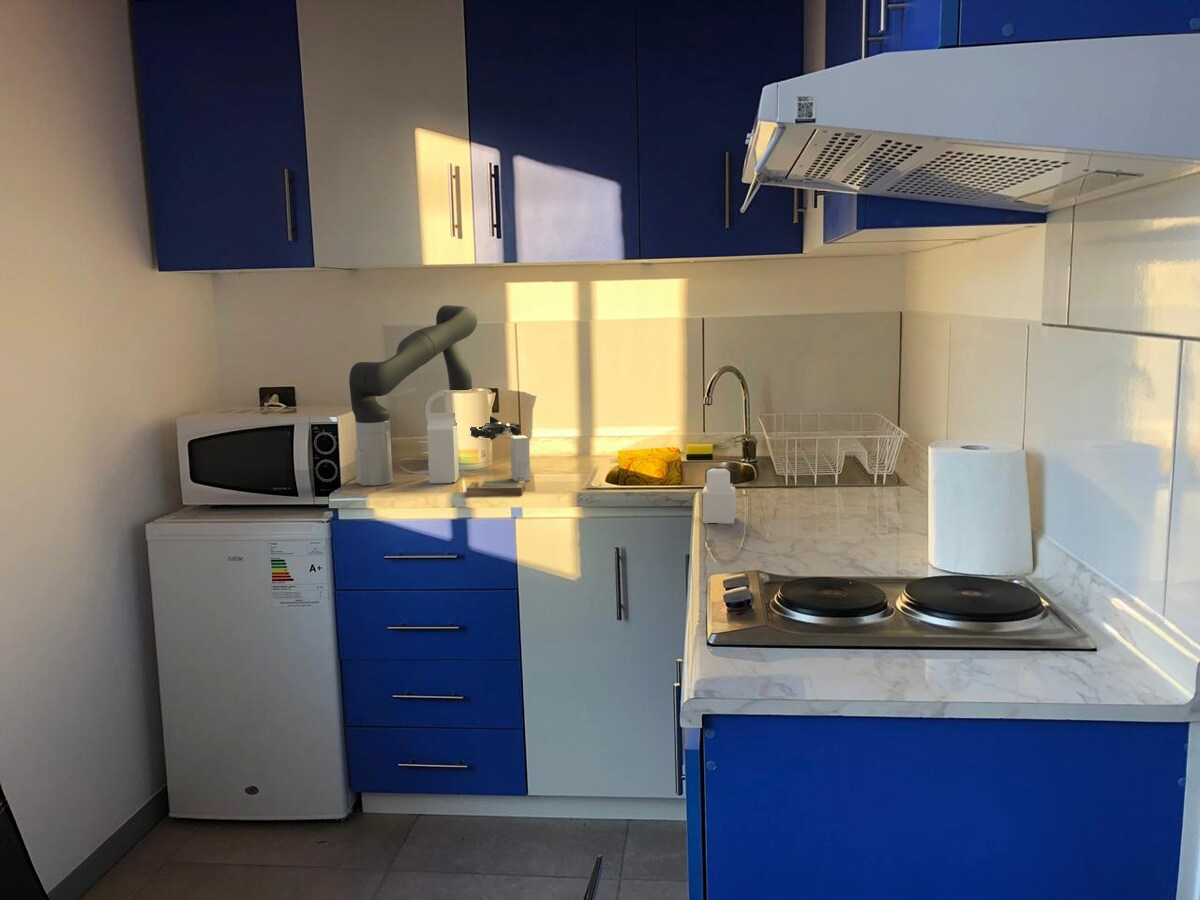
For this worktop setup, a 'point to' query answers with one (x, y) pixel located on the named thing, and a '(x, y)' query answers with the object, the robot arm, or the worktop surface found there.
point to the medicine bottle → (718, 496)
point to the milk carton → (442, 448)
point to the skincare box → (520, 458)
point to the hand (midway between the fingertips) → (504, 433)
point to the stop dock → (497, 488)
